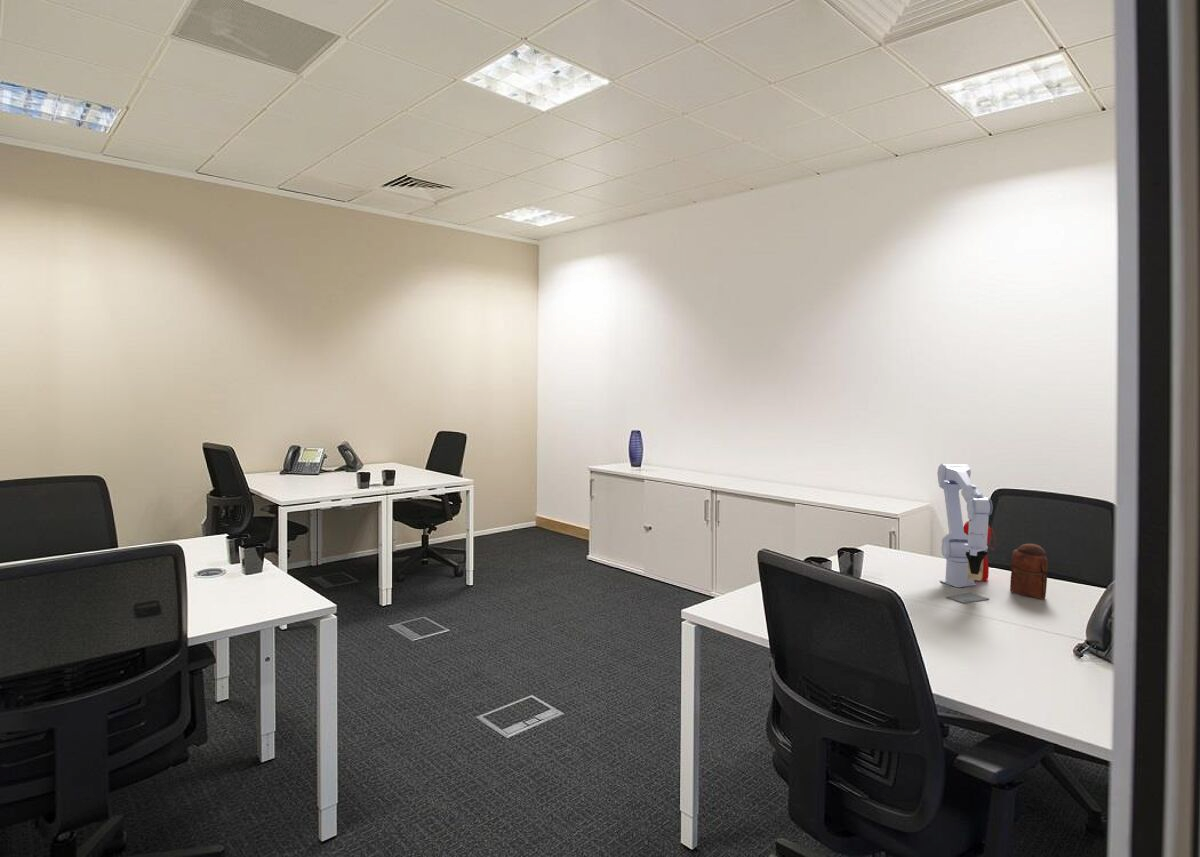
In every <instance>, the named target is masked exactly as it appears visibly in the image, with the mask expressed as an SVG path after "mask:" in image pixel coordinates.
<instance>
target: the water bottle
mask: <svg viewBox="0 0 1200 857" xmlns="http://www.w3.org/2000/svg"><path fill="white" fill-rule="evenodd" d="M963 528H964V533H965V534H967V535H968V530H969V520H967V521H966V522H965V523H964V524H963ZM991 530H992V531H991ZM992 532H993V534H995V532H994V530H993V529H992V528H991V527H990V525H989V524H988V536H987V547H989V544H990V541H991V536H992V535H991V534H992ZM993 536H994V538H996V536H995V535H993ZM996 542H997V541H994V543H995V545H994V547H996V544H997V543H996ZM989 548H990V550H993V548H992V547H991V546H990V547H989ZM989 569H990V567H989V561H988V557H987V554H986V556H985V558H984V561H983V578H982V580H981V581H979V580H974V582H975V581H977V582H987V580H988V579H989V573H990V572H989V571H990V570H989Z"/></svg>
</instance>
